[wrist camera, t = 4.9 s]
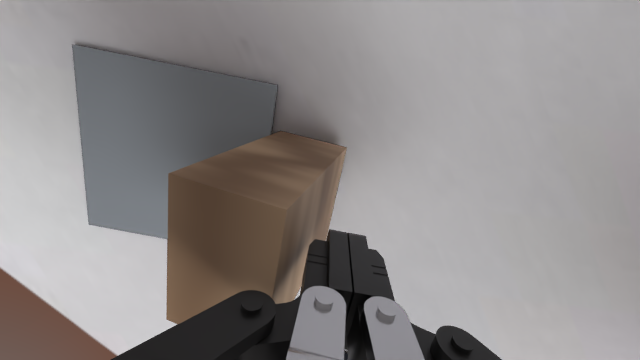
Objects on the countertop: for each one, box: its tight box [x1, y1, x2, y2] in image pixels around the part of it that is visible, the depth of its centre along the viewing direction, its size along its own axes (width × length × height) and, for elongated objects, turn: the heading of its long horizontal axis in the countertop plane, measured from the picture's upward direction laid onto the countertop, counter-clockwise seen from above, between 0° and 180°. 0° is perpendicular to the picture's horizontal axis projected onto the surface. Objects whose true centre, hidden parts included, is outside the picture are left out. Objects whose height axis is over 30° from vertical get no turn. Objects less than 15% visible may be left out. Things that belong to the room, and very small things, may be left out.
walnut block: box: [167, 131, 347, 324], centre depth 14 cm, size 4×6×9 cm, turn 170°
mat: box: [72, 45, 278, 239], centre depth 18 cm, size 11×11×1 cm
